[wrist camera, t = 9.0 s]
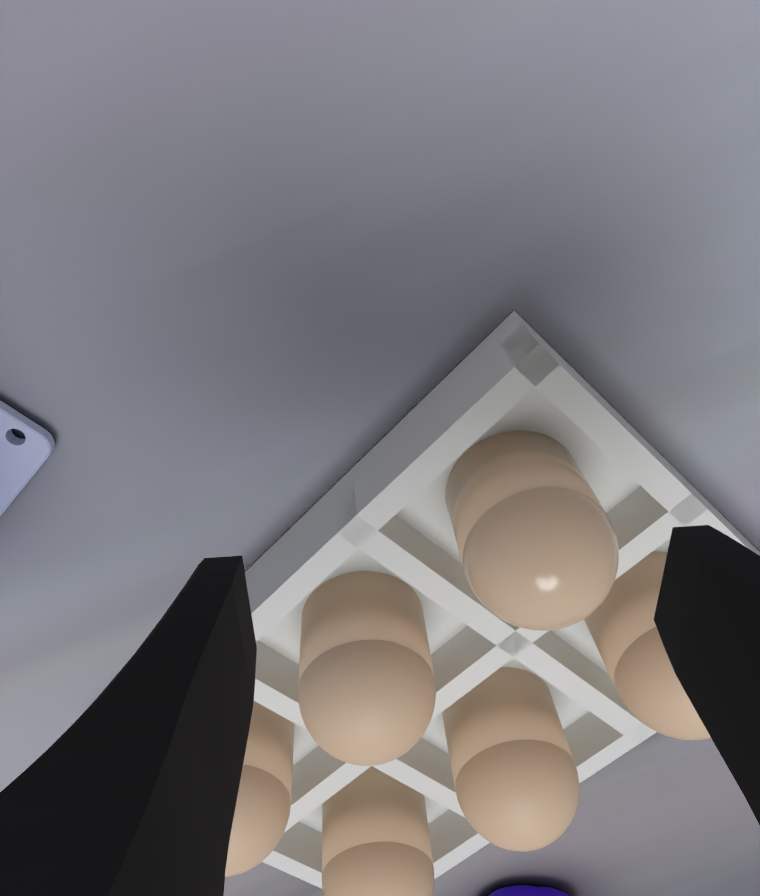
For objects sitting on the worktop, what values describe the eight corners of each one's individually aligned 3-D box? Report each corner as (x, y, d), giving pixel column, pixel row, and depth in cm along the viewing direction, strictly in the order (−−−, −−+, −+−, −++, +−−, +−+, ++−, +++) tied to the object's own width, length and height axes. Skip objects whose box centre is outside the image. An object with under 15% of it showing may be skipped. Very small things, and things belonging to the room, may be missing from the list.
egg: (417, 497, 21) (441, 613, 17) (516, 404, 20) (570, 505, 15) (508, 564, 22) (551, 687, 18) (605, 482, 21) (677, 594, 17)
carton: (98, 714, 26) (40, 881, 21) (514, 310, 19) (582, 404, 14) (376, 852, 31) (386, 1013, 26) (777, 569, 25) (898, 708, 19)
